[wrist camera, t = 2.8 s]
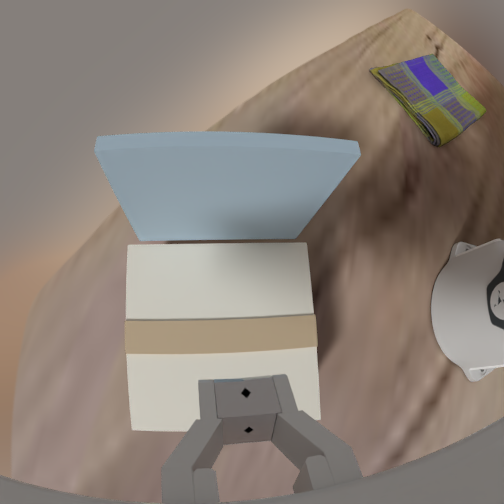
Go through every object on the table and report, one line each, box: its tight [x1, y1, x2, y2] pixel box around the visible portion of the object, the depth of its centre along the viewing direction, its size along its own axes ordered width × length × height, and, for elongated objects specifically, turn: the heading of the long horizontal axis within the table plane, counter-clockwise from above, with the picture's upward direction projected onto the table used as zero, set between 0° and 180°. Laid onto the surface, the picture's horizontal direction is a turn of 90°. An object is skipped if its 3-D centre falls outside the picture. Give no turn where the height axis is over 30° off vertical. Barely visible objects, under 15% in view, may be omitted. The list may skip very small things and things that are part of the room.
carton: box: [125, 243, 321, 431], centre depth 27 cm, size 14×14×8 cm
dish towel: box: [369, 54, 486, 147], centre depth 46 cm, size 18×24×3 cm
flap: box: [94, 132, 361, 241], centre depth 19 cm, size 12×1×12 cm, turn 93°
